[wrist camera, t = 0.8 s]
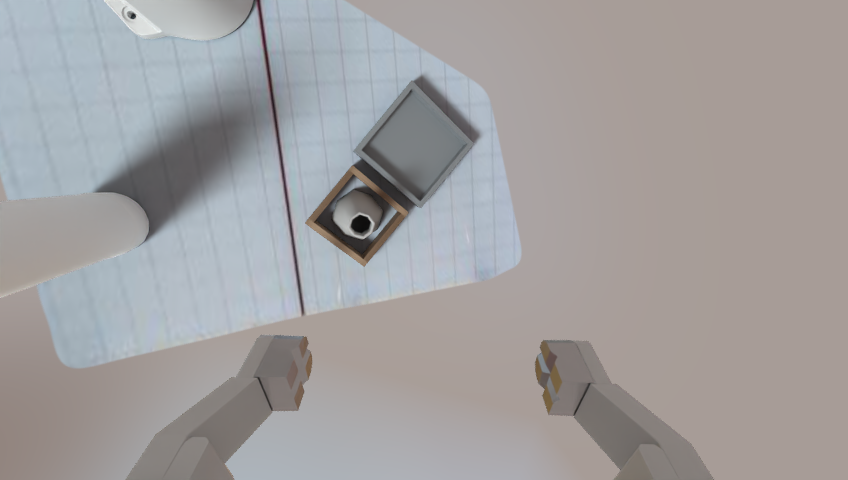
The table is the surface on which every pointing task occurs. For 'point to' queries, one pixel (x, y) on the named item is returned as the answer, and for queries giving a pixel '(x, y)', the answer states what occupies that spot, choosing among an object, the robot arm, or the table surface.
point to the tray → (414, 145)
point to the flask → (357, 215)
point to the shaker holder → (340, 243)
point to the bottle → (64, 235)
